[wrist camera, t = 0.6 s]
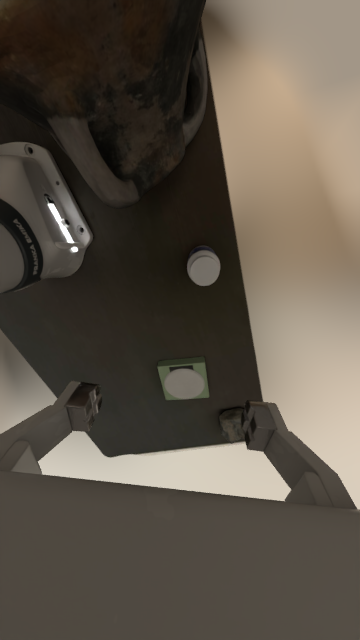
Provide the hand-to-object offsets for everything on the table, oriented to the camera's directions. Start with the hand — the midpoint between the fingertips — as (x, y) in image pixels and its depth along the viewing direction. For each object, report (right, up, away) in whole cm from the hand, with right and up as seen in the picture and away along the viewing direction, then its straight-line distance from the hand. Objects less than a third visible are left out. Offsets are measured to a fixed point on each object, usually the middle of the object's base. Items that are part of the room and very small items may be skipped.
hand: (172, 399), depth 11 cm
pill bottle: (+5, +17, +29) cm, 34 cm away
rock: (+17, -26, +50) cm, 59 cm away
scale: (+2, -11, +43) cm, 45 cm away
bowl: (-4, +27, +19) cm, 33 cm away
